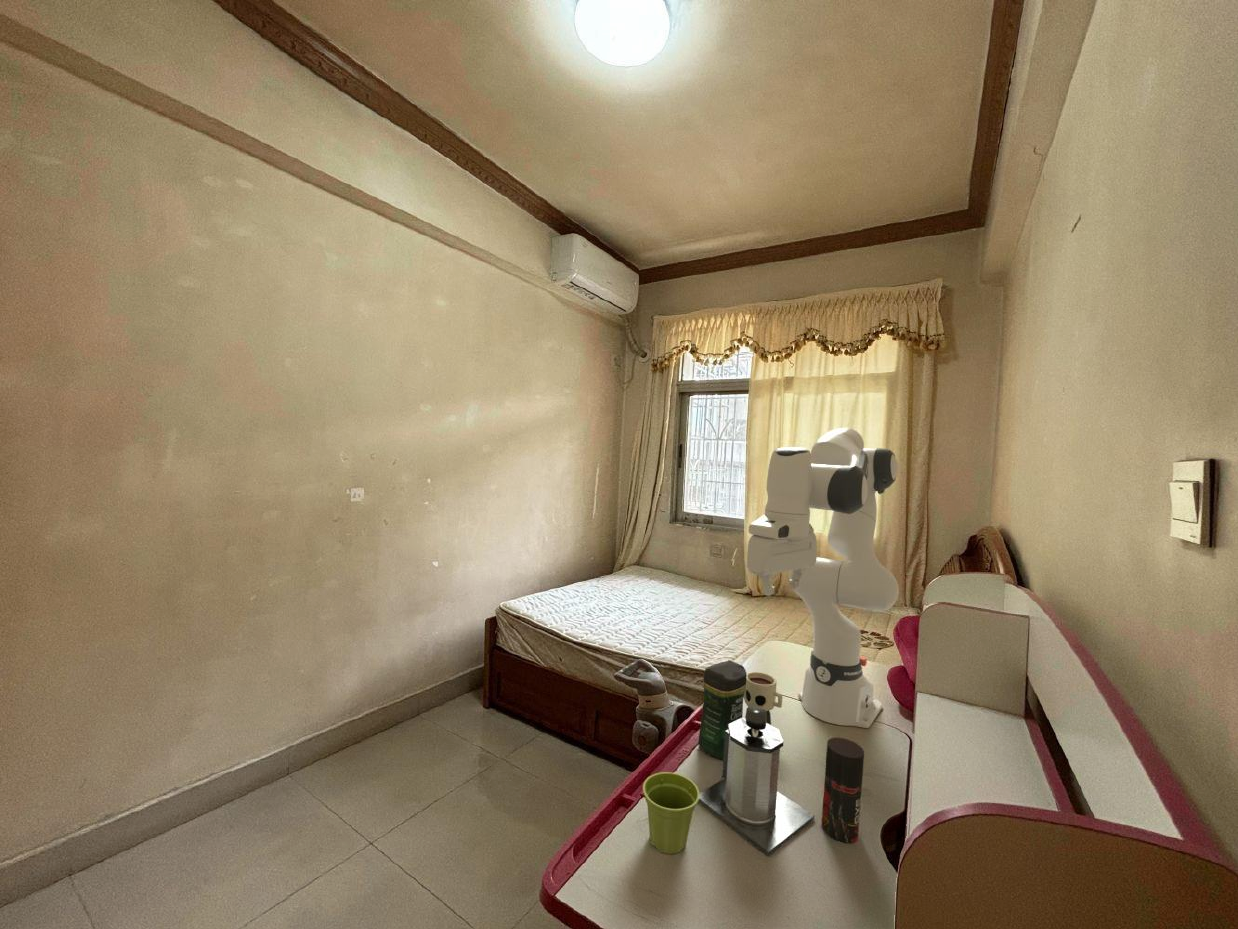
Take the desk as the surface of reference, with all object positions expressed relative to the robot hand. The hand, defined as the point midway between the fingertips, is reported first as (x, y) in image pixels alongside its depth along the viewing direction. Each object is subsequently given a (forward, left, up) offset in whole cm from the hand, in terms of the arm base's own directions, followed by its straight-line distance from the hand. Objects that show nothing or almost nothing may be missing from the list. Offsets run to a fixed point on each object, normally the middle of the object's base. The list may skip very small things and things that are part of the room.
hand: (781, 591), depth 104 cm
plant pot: (+32, +2, -37) cm, 49 cm away
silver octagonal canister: (+15, +6, -37) cm, 40 cm away
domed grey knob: (+15, +6, -32) cm, 36 cm away
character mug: (-8, -9, -37) cm, 39 cm away
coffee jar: (+4, -10, -37) cm, 39 cm away
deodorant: (+6, +18, -37) cm, 42 cm away
